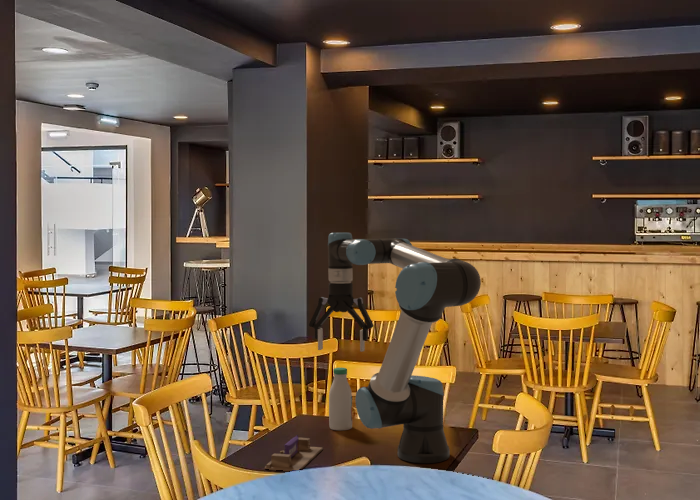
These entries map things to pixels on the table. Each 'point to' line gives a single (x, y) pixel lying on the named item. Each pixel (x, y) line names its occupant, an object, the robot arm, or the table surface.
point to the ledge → (294, 457)
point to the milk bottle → (340, 401)
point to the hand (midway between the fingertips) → (341, 350)
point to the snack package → (292, 446)
